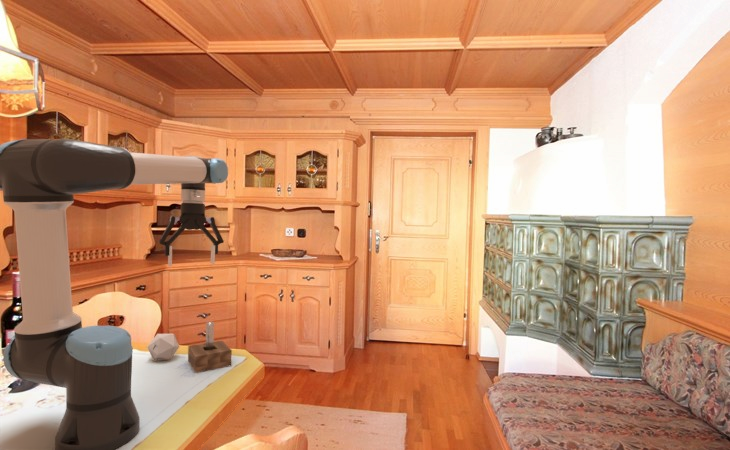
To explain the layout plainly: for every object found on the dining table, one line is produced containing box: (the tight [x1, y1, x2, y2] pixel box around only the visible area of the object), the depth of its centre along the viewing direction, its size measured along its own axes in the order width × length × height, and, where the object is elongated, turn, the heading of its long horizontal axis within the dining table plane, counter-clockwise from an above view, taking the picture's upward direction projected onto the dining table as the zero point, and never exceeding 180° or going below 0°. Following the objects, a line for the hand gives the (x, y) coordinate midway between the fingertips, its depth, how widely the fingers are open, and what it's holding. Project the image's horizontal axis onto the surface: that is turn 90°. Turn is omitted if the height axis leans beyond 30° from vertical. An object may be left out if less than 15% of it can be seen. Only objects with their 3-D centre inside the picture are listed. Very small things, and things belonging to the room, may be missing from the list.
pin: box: [205, 321, 215, 351], centre depth 125 cm, size 2×2×12 cm
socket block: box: [187, 340, 233, 373], centre depth 125 cm, size 11×11×5 cm
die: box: [146, 333, 180, 361], centre depth 128 cm, size 8×9×10 cm
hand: (191, 264), depth 130 cm, fingers open, 13 cm apart
